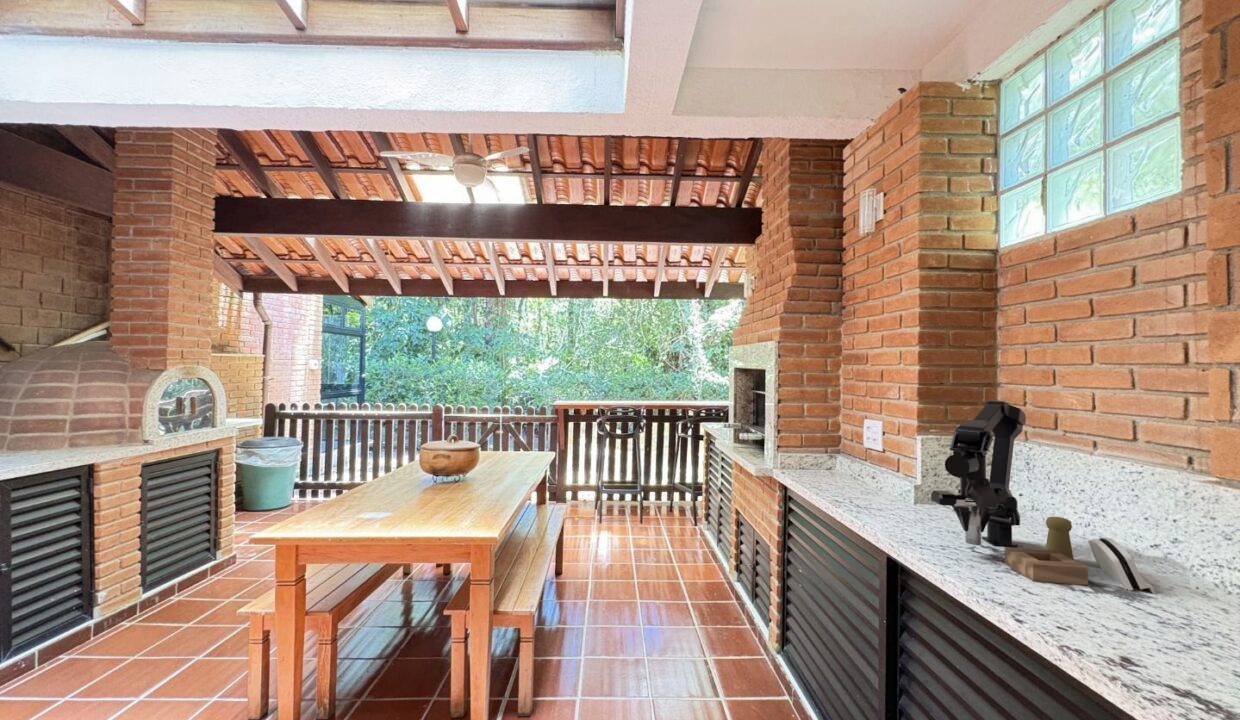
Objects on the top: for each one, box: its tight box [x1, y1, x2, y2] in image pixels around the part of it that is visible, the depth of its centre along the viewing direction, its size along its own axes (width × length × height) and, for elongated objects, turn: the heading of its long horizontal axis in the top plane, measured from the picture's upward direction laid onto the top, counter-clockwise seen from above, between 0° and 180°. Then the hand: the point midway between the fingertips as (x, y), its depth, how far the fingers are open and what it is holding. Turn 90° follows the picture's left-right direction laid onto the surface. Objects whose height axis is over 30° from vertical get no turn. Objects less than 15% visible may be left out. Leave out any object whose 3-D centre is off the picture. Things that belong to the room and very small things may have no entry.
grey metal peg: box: [964, 503, 982, 546], centre depth 138 cm, size 4×4×10 cm
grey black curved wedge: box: [1088, 537, 1156, 594], centre depth 124 cm, size 17×5×10 cm, turn 154°
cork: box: [1044, 516, 1075, 561], centre depth 136 cm, size 6×6×11 cm
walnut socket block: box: [1003, 547, 1089, 586], centre depth 127 cm, size 12×12×4 cm
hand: (973, 531), depth 138 cm, fingers closed on grey metal peg, 3 cm apart
